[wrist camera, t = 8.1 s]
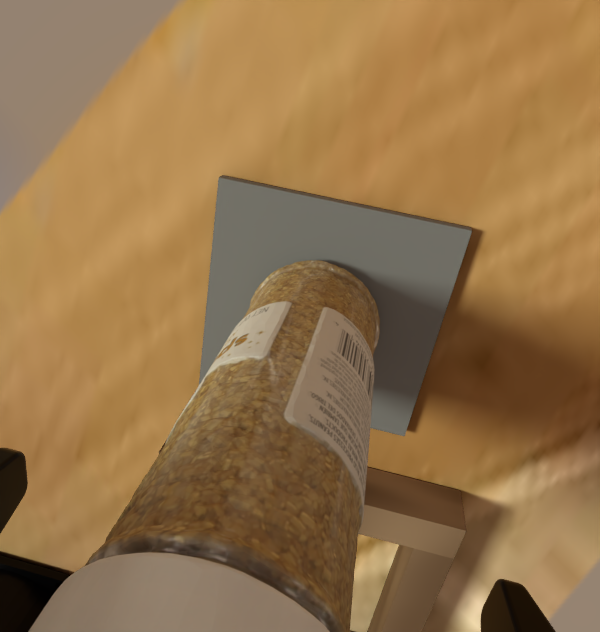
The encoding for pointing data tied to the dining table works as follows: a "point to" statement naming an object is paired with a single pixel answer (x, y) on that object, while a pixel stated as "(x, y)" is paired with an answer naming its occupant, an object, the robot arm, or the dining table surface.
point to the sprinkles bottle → (250, 480)
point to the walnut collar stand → (411, 544)
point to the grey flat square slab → (345, 252)
